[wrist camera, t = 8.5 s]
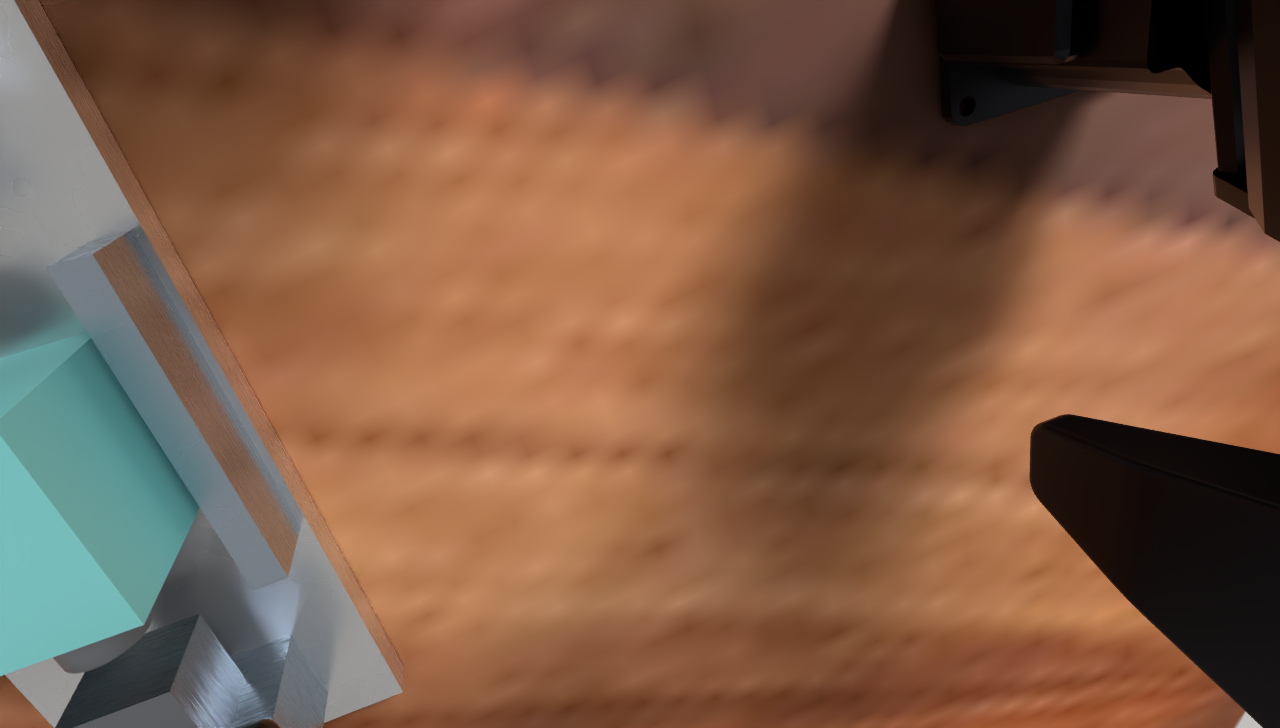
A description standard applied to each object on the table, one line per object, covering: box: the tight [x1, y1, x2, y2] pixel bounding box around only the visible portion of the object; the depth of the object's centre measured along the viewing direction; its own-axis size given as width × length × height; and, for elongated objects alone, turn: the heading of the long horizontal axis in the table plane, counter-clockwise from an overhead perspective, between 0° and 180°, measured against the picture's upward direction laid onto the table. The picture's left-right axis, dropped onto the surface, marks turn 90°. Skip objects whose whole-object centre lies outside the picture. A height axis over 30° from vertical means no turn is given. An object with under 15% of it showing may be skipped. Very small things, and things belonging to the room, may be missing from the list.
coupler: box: [0, 332, 200, 676], centre depth 14 cm, size 4×8×4 cm, turn 14°
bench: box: [0, 0, 404, 728], centre depth 15 cm, size 8×21×5 cm, turn 14°
